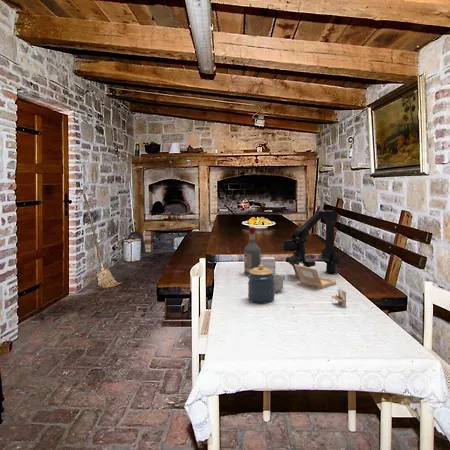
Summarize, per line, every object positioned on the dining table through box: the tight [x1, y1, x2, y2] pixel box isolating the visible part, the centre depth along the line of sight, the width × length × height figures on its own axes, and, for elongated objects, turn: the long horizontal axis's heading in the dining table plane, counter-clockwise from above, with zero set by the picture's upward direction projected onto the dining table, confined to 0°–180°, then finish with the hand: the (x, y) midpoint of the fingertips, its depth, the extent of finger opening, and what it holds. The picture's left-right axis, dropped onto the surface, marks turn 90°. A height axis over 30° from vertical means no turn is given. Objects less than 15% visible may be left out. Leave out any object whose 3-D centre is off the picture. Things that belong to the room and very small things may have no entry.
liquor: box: [243, 226, 262, 277], centre depth 213 cm, size 9×9×30 cm
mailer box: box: [299, 276, 337, 289], centre depth 193 cm, size 12×15×2 cm
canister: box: [247, 264, 275, 304], centre depth 167 cm, size 13×13×18 cm
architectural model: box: [330, 288, 347, 308], centre depth 158 cm, size 3×7×7 cm, turn 17°
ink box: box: [261, 256, 276, 274], centre depth 209 cm, size 9×5×12 cm, turn 86°
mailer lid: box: [294, 264, 322, 284], centre depth 187 cm, size 11×15×1 cm
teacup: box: [273, 273, 286, 293], centre depth 182 cm, size 14×11×8 cm
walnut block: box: [294, 268, 300, 280], centre depth 204 cm, size 4×4×6 cm
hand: (300, 275), depth 205 cm, fingers open, 5 cm apart
